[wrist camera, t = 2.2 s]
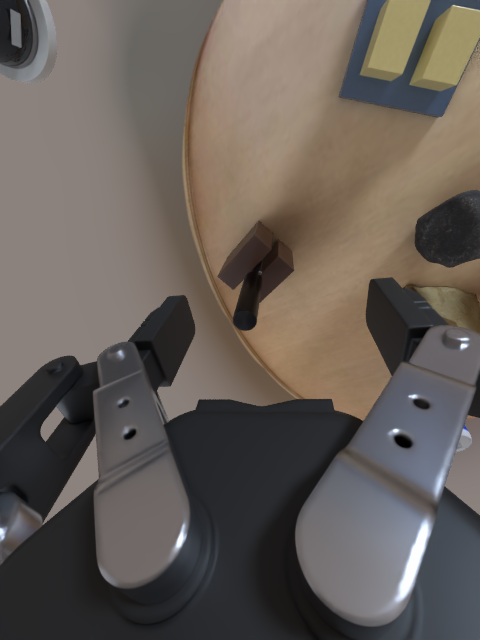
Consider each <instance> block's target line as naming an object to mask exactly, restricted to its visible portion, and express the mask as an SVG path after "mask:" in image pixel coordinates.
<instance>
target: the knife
mask: <svg viewBox="0 0 480 640" xmlns="http://www.w3.org/2000/svg"><path fill="white" fill-rule="evenodd" d="M264 258H265V257H264ZM264 258H263V259H262V260H261V261H260V262H259V263H258V265H257V266H256V267H255V268H254V269H253V270H252V271H251V272H249V273H247V274H246V276H245V278H244V282H243V285H242V288H241V292H240V295H239V299H238V302H237V306H236V309H235V313H234V316H233V323H234V325H235V326H236V327H237V328H238V329H240V330H244V331H247V330H251V329H253V328H254V327H255V325H256V323H257V316H258V309H259V302H260V295H261V288H262V281H263V279H262V276H261V274H262V271H263V264H264Z"/></svg>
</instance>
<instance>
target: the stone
mask: <svg viewBox="0 0 480 640" xmlns="http://www.w3.org/2000/svg"><path fill="white" fill-rule="evenodd" d="M415 247H416V249H417V250H418V252H419V253H420V254H421V255H422V256H423V257H424V258H425V259H426V260H427V261H429V262H432V263H439V264H441V265H444V266H446V267H449V268H450V267H455V266H457V265H459V264H462V263H465V262H468V261H471V260H475V259H479V258H480V191H478V190H471V191H467V192H463V193H460V194H458V195H456V196H454V197H452V198H450V199H449V200H447V201H445V202H444V203H442V204H440V205H439V206H437V207H435V208H434V209H432V210H431V211H429V212H428V213H426V214H425V215H423V216H422V217H420V218H419V219H418V220H417V224H416V234H415Z"/></svg>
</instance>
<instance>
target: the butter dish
mask: <svg viewBox="0 0 480 640" xmlns="http://www.w3.org/2000/svg"><path fill="white" fill-rule="evenodd" d="M385 2H386V0H367V2H366V6H365V9H364V12H363V16H362V19H361V23H360V26H359V29H358V33H357V36H356V40H355V43H354V46H353V50H352V53H351V57H350V60H349V63H348V67H347V70H346V74H345V77H344V80H343V84H342V87H341V91H340V94H339V97H340V98H344V99H349V100H354V101H359V102H364V103H369V104H374V105H379V106H384V107H389V108H394V109H399V110H403V111H408V112H413V113H418V114H423V115H428V116H433V117H442V116H443V114H444V112H445V110H446V108H447V106H448V104H449V102H450V100H451V98H452V95H453V93H454V91H455V89H456V87H457V85H458V84H457V85H456V86H453V87H451V88H448V89H445V90H443V91H436V90H431V89H426V88H421V87H416V86H411V85H409V84H410V81H411V79H412V76H413V74H414V71H415V69H416V66H417V64H418V61H419V59H420V57H421V54H422V52H423V49H424V47H425V44H426V42H427V39H428V37H429V34H430V32H431V29H432V27H433V24H434V22H435V20H436V19H437V18H438V17H439V16H440V15H442V14H443V13H444V12H445V11H446V10H448V9H449V8H450V7H451V6H452V5H455V6H460V7H465V8H470V9H475V10H480V0H431V1H430V4H429V7H428V9H427V12H426V14H425V17H424V20H423V22H422V25H421V27H420V30H419V33H418V35H417V38H416V40H415V43H414V46H413V48H412V51H411V53H410V56H409V58H408V61H407V64H406V66H405V69H404V71H403V74H402V75H400V76H399V77H397V78H396V79H394V80H393V81H387V80H382V79H377V78H372V77H367V76H362V75H360V72H361V69H362V66H363V63H364V59H365V56H366V53H367V50H368V47H369V44H370V41H371V37H372V34H373V31H374V28H375V25H376V22H377V18H378V15H379V12H380V9H381V8H382V6H383V5H384V3H385ZM479 40H480V38H479ZM479 40H478V42H479ZM478 42H477V44H478ZM477 44H476V46H477ZM476 46H475V48H476ZM475 48H474V50H475ZM474 50H473V52H474ZM472 54H473V53H472ZM471 56H472V55H471ZM470 58H471V57H470ZM469 60H470V59H469ZM468 62H469V61H468ZM467 64H468V63H467ZM466 66H467V65H466ZM465 69H466V67H465ZM465 69H464V71H465ZM464 71H463V73H464ZM463 73H462V75H463ZM462 75H461V77H462ZM461 77H460V79H461ZM459 81H460V80H459ZM458 83H459V82H458Z"/></svg>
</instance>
